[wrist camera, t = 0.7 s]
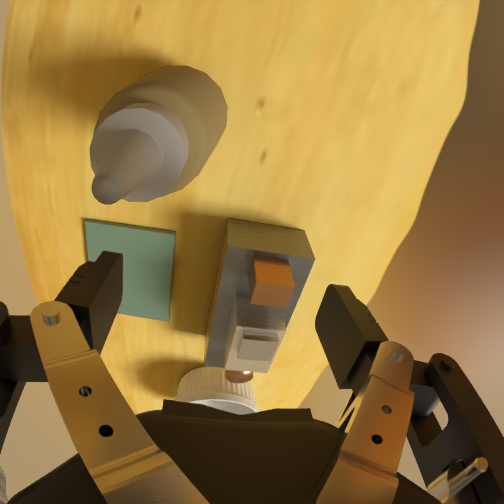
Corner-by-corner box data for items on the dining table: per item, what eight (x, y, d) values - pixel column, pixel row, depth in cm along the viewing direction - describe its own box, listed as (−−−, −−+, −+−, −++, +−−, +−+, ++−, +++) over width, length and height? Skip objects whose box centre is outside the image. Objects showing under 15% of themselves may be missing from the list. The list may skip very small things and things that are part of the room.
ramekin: (251, 355, 44) (254, 396, 38) (259, 397, 52) (262, 431, 46) (164, 362, 44) (159, 401, 39) (187, 402, 52) (185, 435, 46)
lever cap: (236, 295, 30) (237, 334, 26) (280, 300, 31) (287, 339, 27) (224, 340, 34) (224, 377, 30) (263, 344, 35) (267, 380, 31)
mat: (86, 218, 30) (84, 221, 29) (176, 231, 32) (175, 234, 31) (96, 305, 37) (95, 308, 36) (169, 318, 39) (168, 321, 38)
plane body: (228, 217, 31) (227, 271, 24) (304, 230, 32) (324, 284, 25) (205, 335, 41) (202, 390, 34) (263, 341, 42) (269, 394, 35)
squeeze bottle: (221, 57, 22) (201, 44, 7) (234, 144, 27) (237, 268, 12) (130, 76, 22) (-6, 117, 8) (147, 159, 27) (62, 288, 12)
